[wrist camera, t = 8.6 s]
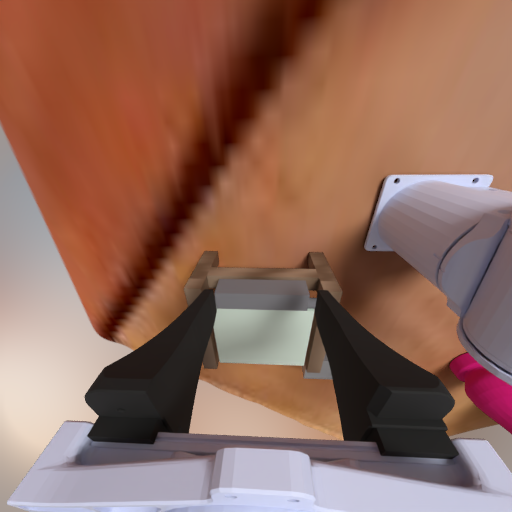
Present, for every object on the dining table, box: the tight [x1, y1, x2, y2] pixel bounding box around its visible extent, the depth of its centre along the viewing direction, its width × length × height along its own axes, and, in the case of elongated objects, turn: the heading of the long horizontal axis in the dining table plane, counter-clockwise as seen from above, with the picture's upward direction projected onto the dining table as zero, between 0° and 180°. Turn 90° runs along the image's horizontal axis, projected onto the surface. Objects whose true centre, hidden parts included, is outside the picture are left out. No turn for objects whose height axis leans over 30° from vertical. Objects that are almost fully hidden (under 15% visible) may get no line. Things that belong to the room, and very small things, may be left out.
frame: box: [184, 251, 343, 373], centre depth 24 cm, size 14×13×7 cm
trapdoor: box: [213, 279, 317, 366], centre depth 20 cm, size 10×12×2 cm
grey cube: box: [302, 353, 332, 379], centre depth 30 cm, size 4×4×4 cm
